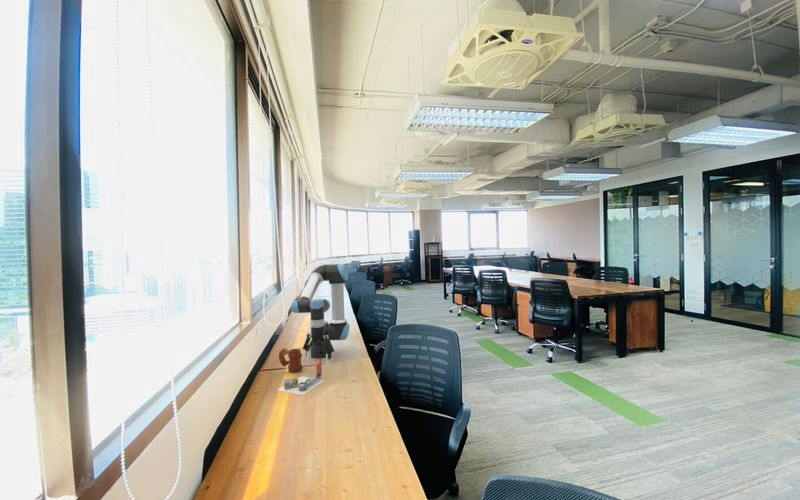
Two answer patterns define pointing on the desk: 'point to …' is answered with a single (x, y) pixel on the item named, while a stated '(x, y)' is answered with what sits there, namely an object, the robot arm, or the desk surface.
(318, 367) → the lever
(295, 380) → the tan short cylinder
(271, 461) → the desk surface
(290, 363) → the mug
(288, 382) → the grey rectangular block
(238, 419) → the desk surface
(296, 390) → the bench board
